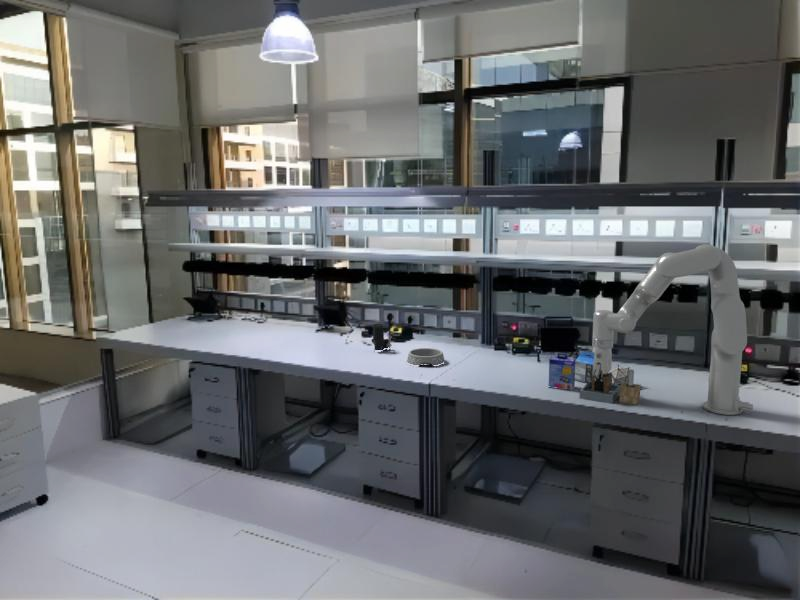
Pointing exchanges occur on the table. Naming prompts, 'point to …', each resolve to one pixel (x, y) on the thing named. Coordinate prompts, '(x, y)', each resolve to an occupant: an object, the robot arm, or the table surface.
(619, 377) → the beige spiked polyhedron
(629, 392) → the oak block
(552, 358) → the ink cartridge box
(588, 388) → the tray
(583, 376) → the label tape box
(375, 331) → the scope
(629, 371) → the pin gauge
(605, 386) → the walnut block
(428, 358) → the dog bowl
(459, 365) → the table surface
